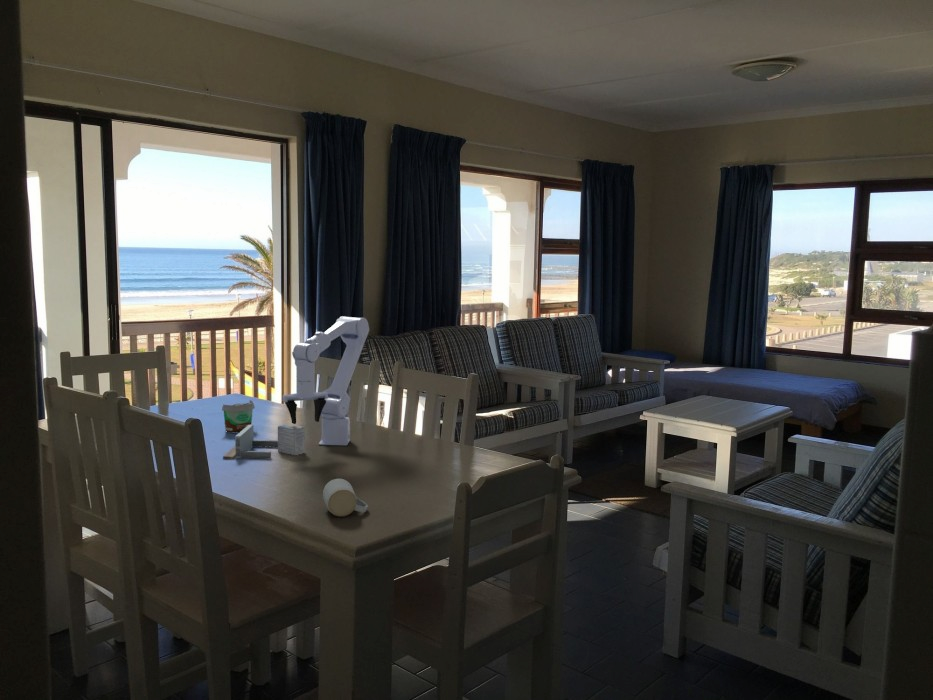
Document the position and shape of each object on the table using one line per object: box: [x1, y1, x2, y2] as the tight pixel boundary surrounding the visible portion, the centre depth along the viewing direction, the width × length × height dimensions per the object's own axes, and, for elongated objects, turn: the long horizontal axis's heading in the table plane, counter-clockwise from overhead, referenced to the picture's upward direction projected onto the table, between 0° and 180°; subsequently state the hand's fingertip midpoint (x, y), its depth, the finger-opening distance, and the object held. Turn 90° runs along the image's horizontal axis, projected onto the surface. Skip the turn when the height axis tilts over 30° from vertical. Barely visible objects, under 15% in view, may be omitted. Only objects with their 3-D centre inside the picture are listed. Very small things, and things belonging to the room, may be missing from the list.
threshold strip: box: [222, 445, 236, 460], centre depth 239 cm, size 3×18×1 cm, turn 2°
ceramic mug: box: [322, 478, 369, 518], centre depth 186 cm, size 11×8×8 cm
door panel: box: [234, 424, 255, 459], centre depth 239 cm, size 2×17×7 cm, turn 2°
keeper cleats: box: [240, 439, 278, 459], centre depth 240 cm, size 9×15×2 cm, turn 2°
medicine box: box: [277, 423, 306, 456], centre depth 240 cm, size 8×4×9 cm, turn 58°
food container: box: [221, 399, 255, 433], centre depth 266 cm, size 12×6×10 cm, turn 143°
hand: (305, 422), depth 241 cm, fingers open, 7 cm apart
